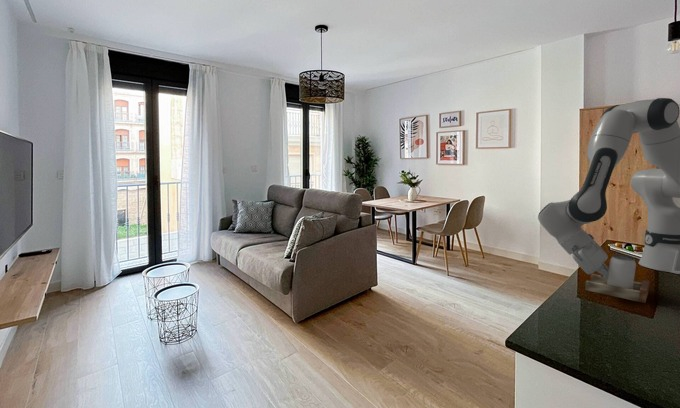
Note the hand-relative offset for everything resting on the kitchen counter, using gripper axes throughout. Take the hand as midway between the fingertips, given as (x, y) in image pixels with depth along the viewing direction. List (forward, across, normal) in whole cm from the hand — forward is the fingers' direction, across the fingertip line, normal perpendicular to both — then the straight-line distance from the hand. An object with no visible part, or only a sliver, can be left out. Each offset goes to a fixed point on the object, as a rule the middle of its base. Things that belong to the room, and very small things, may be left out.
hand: (610, 277), depth 110 cm
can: (+5, 0, +2) cm, 5 cm away
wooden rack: (+4, 0, +2) cm, 5 cm away
